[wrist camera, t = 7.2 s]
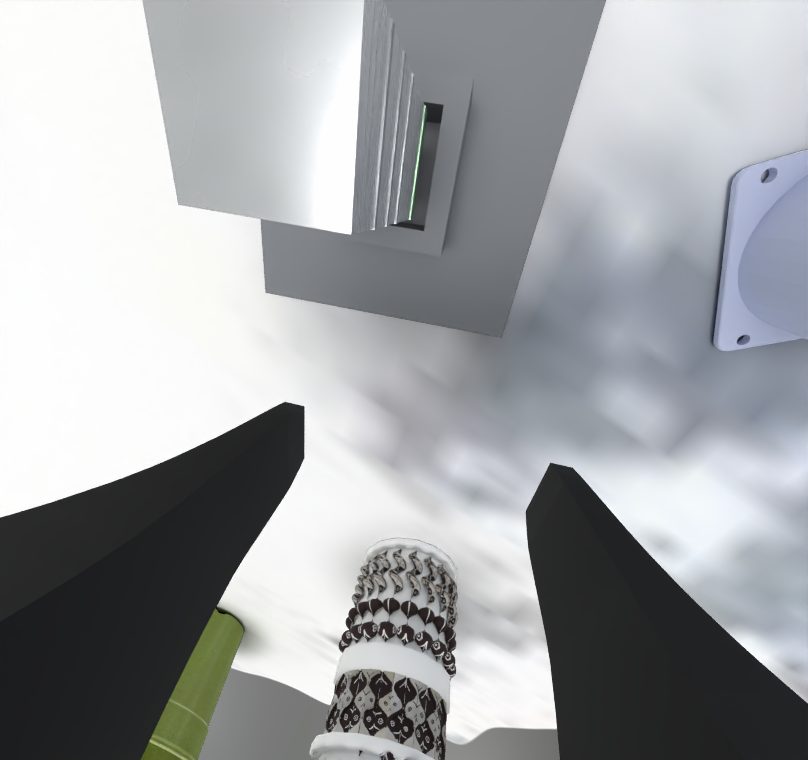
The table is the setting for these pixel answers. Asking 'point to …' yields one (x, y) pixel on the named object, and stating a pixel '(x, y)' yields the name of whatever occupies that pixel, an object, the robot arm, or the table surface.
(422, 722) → the decorative candle
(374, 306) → the grey socket base
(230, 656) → the plant pot
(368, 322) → the table surface
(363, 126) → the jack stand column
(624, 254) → the table surface
